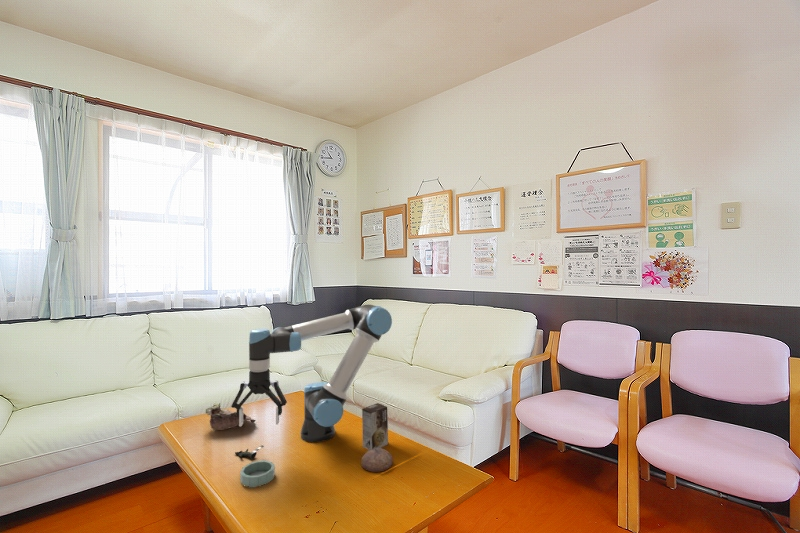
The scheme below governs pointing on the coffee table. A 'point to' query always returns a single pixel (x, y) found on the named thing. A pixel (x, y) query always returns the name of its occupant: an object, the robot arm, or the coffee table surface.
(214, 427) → the rock
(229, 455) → the coffee table surface
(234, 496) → the coffee table surface
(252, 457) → the figurine
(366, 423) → the coffee box
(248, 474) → the bowl
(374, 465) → the decorative stone
